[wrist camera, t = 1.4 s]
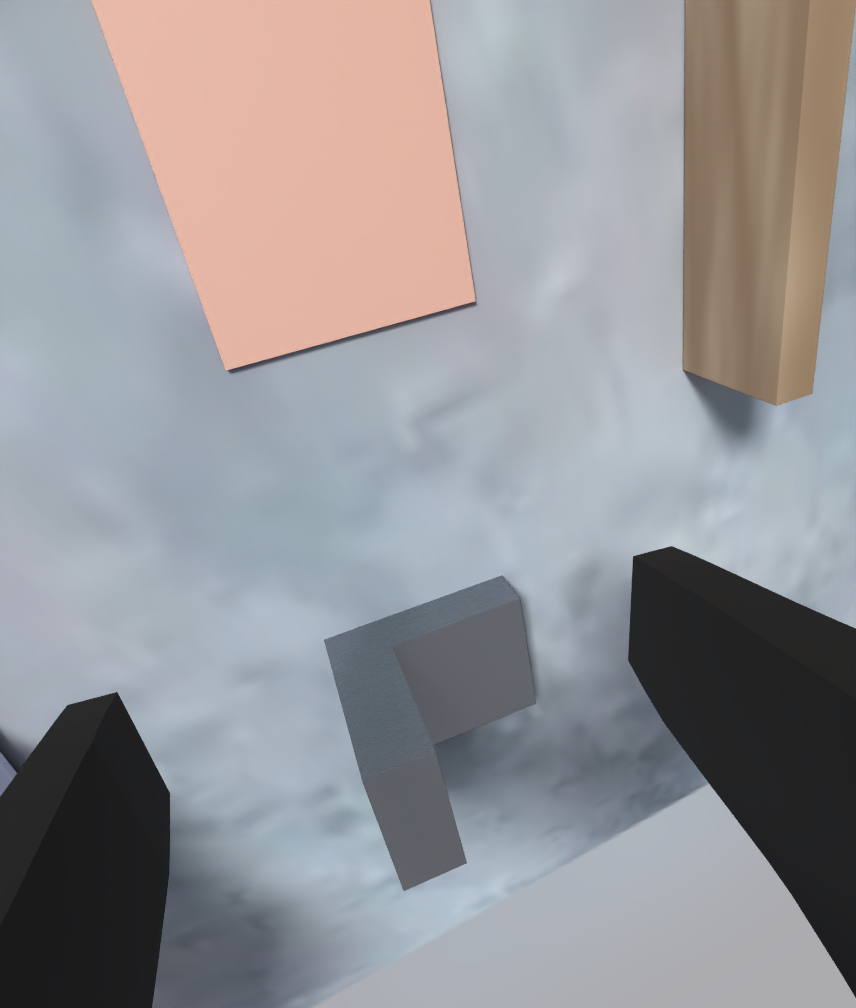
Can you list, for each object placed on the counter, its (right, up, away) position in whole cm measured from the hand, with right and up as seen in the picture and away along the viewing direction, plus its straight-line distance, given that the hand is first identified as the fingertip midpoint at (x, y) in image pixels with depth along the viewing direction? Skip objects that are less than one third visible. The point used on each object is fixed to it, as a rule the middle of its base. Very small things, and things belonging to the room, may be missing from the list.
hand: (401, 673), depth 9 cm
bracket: (0, -3, +14) cm, 15 cm away
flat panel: (-2, +10, +6) cm, 12 cm away
